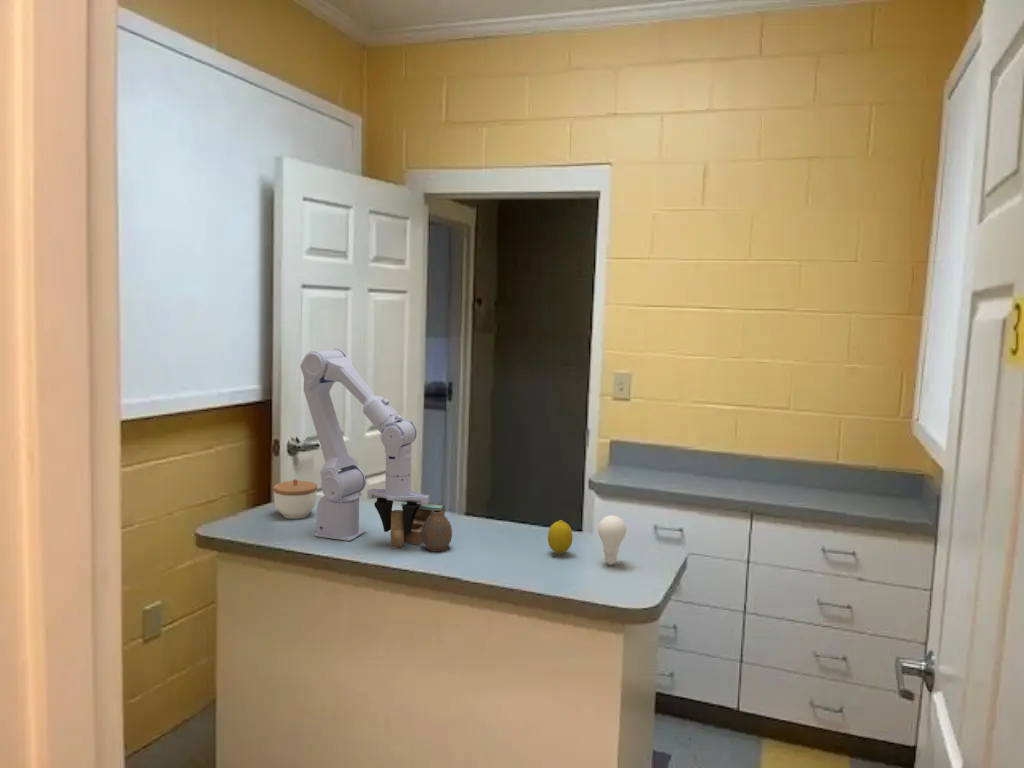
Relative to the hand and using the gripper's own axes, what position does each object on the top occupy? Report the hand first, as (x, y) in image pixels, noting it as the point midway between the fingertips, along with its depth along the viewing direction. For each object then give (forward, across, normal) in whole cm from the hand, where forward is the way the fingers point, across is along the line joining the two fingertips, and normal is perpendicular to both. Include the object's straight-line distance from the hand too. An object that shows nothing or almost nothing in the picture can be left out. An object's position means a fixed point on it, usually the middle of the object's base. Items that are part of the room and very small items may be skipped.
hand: (397, 532), depth 177 cm
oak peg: (+3, 0, 0) cm, 3 cm away
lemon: (+3, +36, +9) cm, 37 cm away
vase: (+3, +9, +2) cm, 10 cm away
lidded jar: (+3, -34, +11) cm, 36 cm away
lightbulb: (+3, +48, +7) cm, 49 cm away
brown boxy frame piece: (+3, +1, +8) cm, 9 cm away
